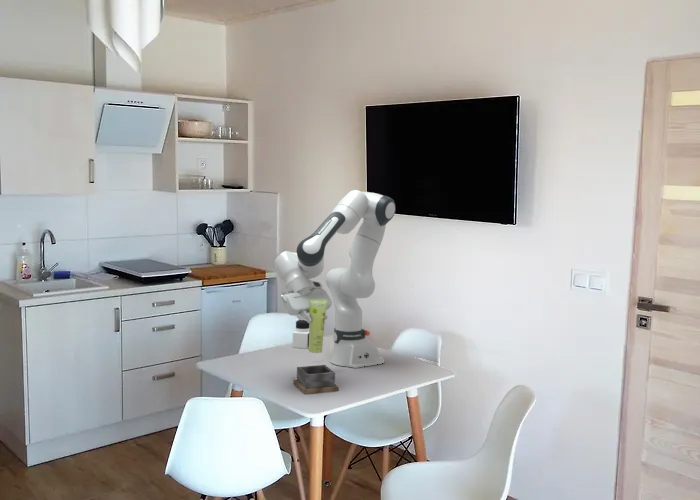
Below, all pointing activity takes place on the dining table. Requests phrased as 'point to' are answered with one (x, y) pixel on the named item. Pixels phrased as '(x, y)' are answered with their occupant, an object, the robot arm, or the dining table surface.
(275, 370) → the dining table surface
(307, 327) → the medicine bottle
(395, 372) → the dining table surface
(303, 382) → the holder
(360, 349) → the robot arm
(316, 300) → the tube
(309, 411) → the dining table surface
